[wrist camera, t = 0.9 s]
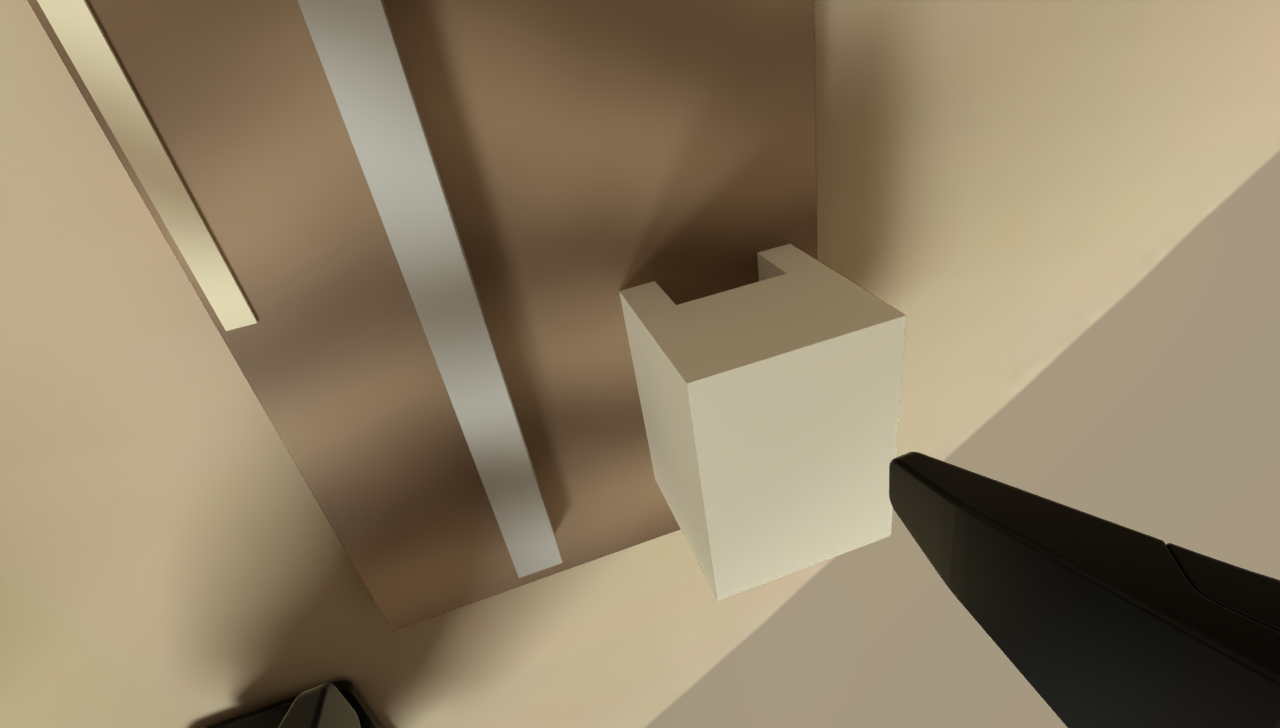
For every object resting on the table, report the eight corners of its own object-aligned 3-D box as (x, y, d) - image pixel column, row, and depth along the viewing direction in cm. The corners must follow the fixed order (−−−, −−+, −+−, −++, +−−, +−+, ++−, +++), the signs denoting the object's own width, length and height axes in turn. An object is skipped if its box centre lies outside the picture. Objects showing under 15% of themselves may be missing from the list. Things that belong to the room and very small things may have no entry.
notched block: (796, 431, 25) (890, 535, 20) (655, 479, 24) (717, 601, 19) (789, 243, 21) (906, 315, 16) (619, 290, 20) (686, 383, 15)
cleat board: (804, 463, 28) (839, 502, 26) (393, 606, 25) (391, 665, 23) (785, -280, 16) (848, -330, 13) (-49, -183, 12) (-151, -226, 10)
